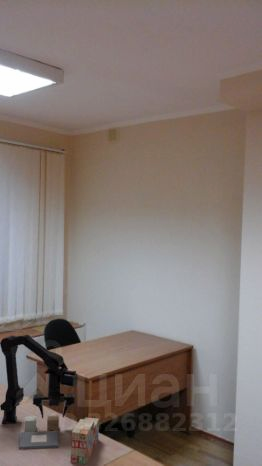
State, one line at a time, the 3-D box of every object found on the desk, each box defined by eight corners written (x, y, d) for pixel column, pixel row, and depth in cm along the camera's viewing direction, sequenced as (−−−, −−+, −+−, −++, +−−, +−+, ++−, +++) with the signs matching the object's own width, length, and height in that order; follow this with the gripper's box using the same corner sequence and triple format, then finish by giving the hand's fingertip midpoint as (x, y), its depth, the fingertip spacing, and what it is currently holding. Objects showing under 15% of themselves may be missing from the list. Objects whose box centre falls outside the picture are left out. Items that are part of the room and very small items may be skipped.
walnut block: (47, 426, 200) (47, 415, 200) (58, 426, 200) (58, 415, 201) (47, 431, 195) (47, 420, 195) (58, 430, 196) (58, 419, 196)
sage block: (24, 427, 198) (25, 416, 198) (36, 426, 199) (36, 416, 199) (24, 432, 193) (25, 421, 193) (35, 431, 194) (36, 420, 194)
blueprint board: (20, 434, 190) (20, 432, 190) (57, 433, 193) (57, 430, 193) (18, 449, 177) (18, 446, 177) (58, 447, 180) (58, 444, 180)
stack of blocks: (84, 438, 190) (86, 410, 190) (98, 439, 189) (99, 411, 189) (70, 462, 169) (71, 431, 169) (85, 465, 168) (87, 433, 168)
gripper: (33, 390, 188) (31, 426, 188) (76, 389, 192) (74, 424, 191) (34, 381, 199) (32, 415, 199) (74, 381, 203) (73, 414, 202)
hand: (52, 417), depth 198 cm, fingers open, 9 cm apart
